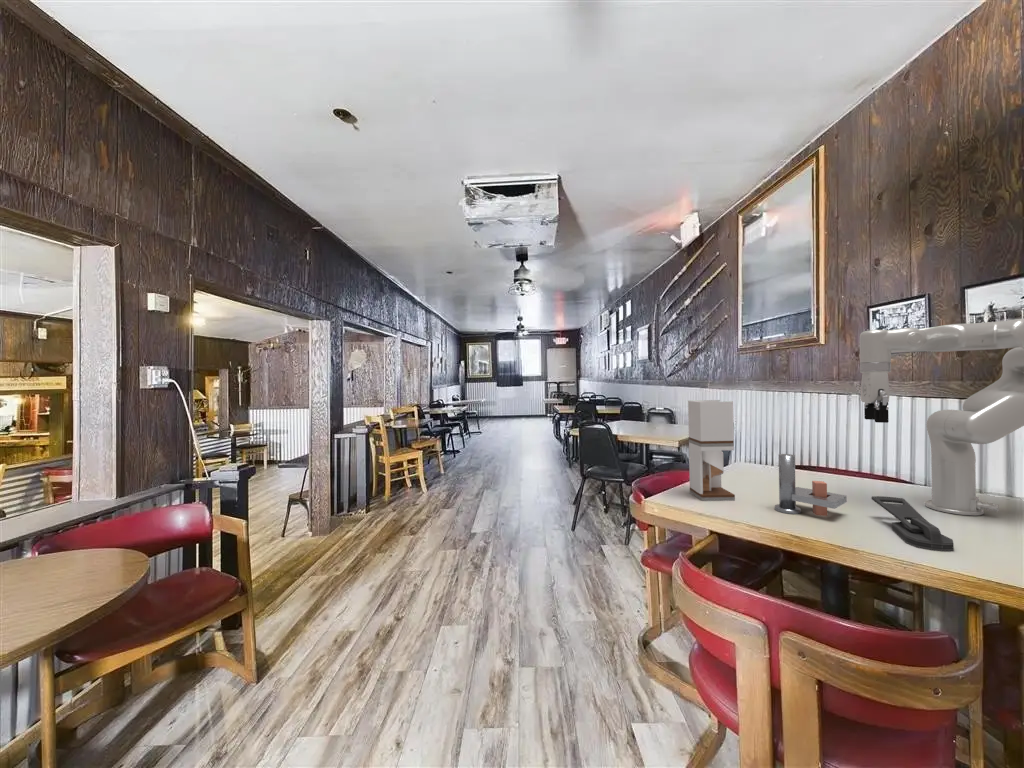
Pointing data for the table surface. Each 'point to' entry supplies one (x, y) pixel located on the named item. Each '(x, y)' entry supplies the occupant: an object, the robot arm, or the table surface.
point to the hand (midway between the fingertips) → (876, 420)
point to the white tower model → (709, 447)
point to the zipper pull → (914, 526)
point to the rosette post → (799, 490)
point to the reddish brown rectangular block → (821, 491)
